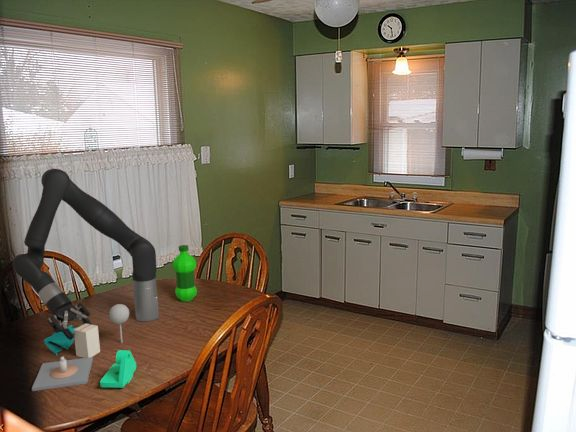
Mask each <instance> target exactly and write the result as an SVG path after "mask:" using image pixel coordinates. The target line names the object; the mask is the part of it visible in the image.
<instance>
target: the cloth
mask: <svg viewBox="0 0 576 432" xmlns="http://www.w3.org/2000/svg"><path fill="white" fill-rule="evenodd" d="M67 328H69V330H70V331H71V332H72V334H73V335H74V329H76V328H77V327H73V324H71V325H70V324H69V326H68V325H67ZM43 342H44V345H46V346H47V348H48V349H49V350H50V351H51V352H53V354H55V356H57V357H58V353H60V352H62V351H63V350H64V349H65V350H69V347H71V345H73V343H74V342H75V338H74V337H73V339H71V340H69V339H68V338H67V337H66V336H65V335H64V333H63V332H58V333H56V332H55V333H52V334H51V335H50V336H48V337H46V338H45V339H43Z"/></svg>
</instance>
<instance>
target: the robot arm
mask: <svg viewBox="0 0 576 432" xmlns="http://www.w3.org/2000/svg"><path fill="white" fill-rule="evenodd" d="M40 179H41V180H40V181H41V186H42V192H41V193H42V194H41V197H40V200H39V204H38V207H37V208H36V211H35V213H34V215H33V216H32V219H31V222H30V224H29V226H28V229H27V232H26V235H25V238H24V242H23V243H24V246H26V247H27V252H26V253H21V254H17V255H16V256H14V258H13V260H12V268H13V270H14V271H15V273H16V274H17V275H18V277H19V276H20V278H21V279H23V280H24V281H25V282H26V283H28V284H29V285H30V287H32V289H33V291H35V293H36V294H37V295H38V296H39V299H40V301H41V302H42V303H43V304H44V306H45V307H46V308H47V310H48V311H49V312H50V314H51V315H50V317H49V318H48V319H47V322H48V323H49V325H50V326H51V328H52V329H53V331H54V332H55V333H58V332H63V333H64V335H65V336H66V337H67V338H68V339H69V340H71V339H73V338H74V333H73V334H72V332H71V331H70V330H69V328H67V327H68V323H70V322H73V321H79V322H82V325H84V324H91V325H93V324H92V322H91V321H90V319H89V317H90V315H91V312H89V310H88V309H87V308H86V307H85V306H84V304H83V303H82V302H78V303H77V304H76V305H74V304H73V303H72V300H71V299H70V297H68V295H67V294H66V292H65V291H64V290H63V289H62V287H61V286H60V285H59V284H58V283H57V282H56V281H55V279H54V278H53V277H52V275H50V273H49V272H47V271H44V270H42V269H41V268H42V266H43V264H44V260H45V251H46V248H45V247H46V243H47V241H48V238H49V235H50V231H51V229H52V226H53V222H54V220H55V219H54V218H56V217H55V216H56V214H57V211H58V208H59V206H60V204H61V202H62V201H63V202H65V203H66V204H68V206H69V207H70V208H71V209H73V210H74V211H75V212H76V213H77V214H78V216H79V217H80V218H82V219H83V220H84V221H85V222H86V223H87V224H89V225H90V226H91V227H92V228H94V229H95V230H96V231H98V232H99V233H101V234H102V235H104V236H105V237H108V238H109V239H111V240H113V241H115V242H117V243H118V244H119V245H120V246H122V248H123V249H125V251H126V252H128V254H129V255H130V256H131V260H132V273H131V275H132V276H131V277H132V286H133V287H132V288H133V289H132V290H133V300H134V310H135V311H134V313H135V314H134V315H135V320H136V321H137V322H138V321H139V322H152V321H155V320H158V319H160V315H159V314H160V313H159V312H160V311H159V298H158V288H157V254H156V253H157V252H156V249H155V247H154V245H153V244H152V243H151V242H150V241H149V240H148V239H146V238H145V237H143V236H142V235H140V234H139V233H137V232H136V231H135V230H133V229H131V228H130V227H129V226H128V225H127V224H126V223H125V222H124V221H123V220H122V218H120V217H119V216H118V214H116V213H115V212H113V211H112V210H111V209H110V208H109V207H107V206H106V205H105V204H104V203H103V202H101V201H100V200H98V199H97V198H95V197H93V196H92V195H91V194H89V193H87V192H85V191H84V190H83V189H81V188H80V187H79V186H78V185H77V184H76V183H75V182H73V180H71V178H70V175H68V173H67V172H66V171H64V170H62V169H59V168H50V169H48V170H46V171H44V172H43V174H42V176H41V178H40Z"/></svg>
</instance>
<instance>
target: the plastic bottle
mask: <svg viewBox="0 0 576 432" xmlns="http://www.w3.org/2000/svg"><path fill="white" fill-rule="evenodd" d="M178 251H179V255H177V256H176V257H175V258H174V259H173V260H172V268H173V270H174V272H175V274H176V275H175V276H176V287H175V290H174V293H175V296H176V298H177V300H180V301H181V302H190V301H192V300H193V299H194V298H195V297H196V296H197V294H198V289H197V287H196V285H195V272H194V271H195V270H196V269H197V261H196V260H195V259H196V258H195V257H194V256H193V255H191V254H189V253H188V251H189V245H187V244H182V245H179V246H178Z"/></svg>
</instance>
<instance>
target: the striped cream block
mask: <svg viewBox="0 0 576 432" xmlns="http://www.w3.org/2000/svg"><path fill="white" fill-rule="evenodd" d="M75 328H76V329H74V333H73V335H74V337H73V338H74V345H75V347H74V348H75V354H76V357H79V358H90V357H93V358H94V356H96V355H98V354H99V353H100V352H101V347H100V337H99V326H98V325H96V324H92V325H91V324H82V325H80V326H77V327H75Z"/></svg>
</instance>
